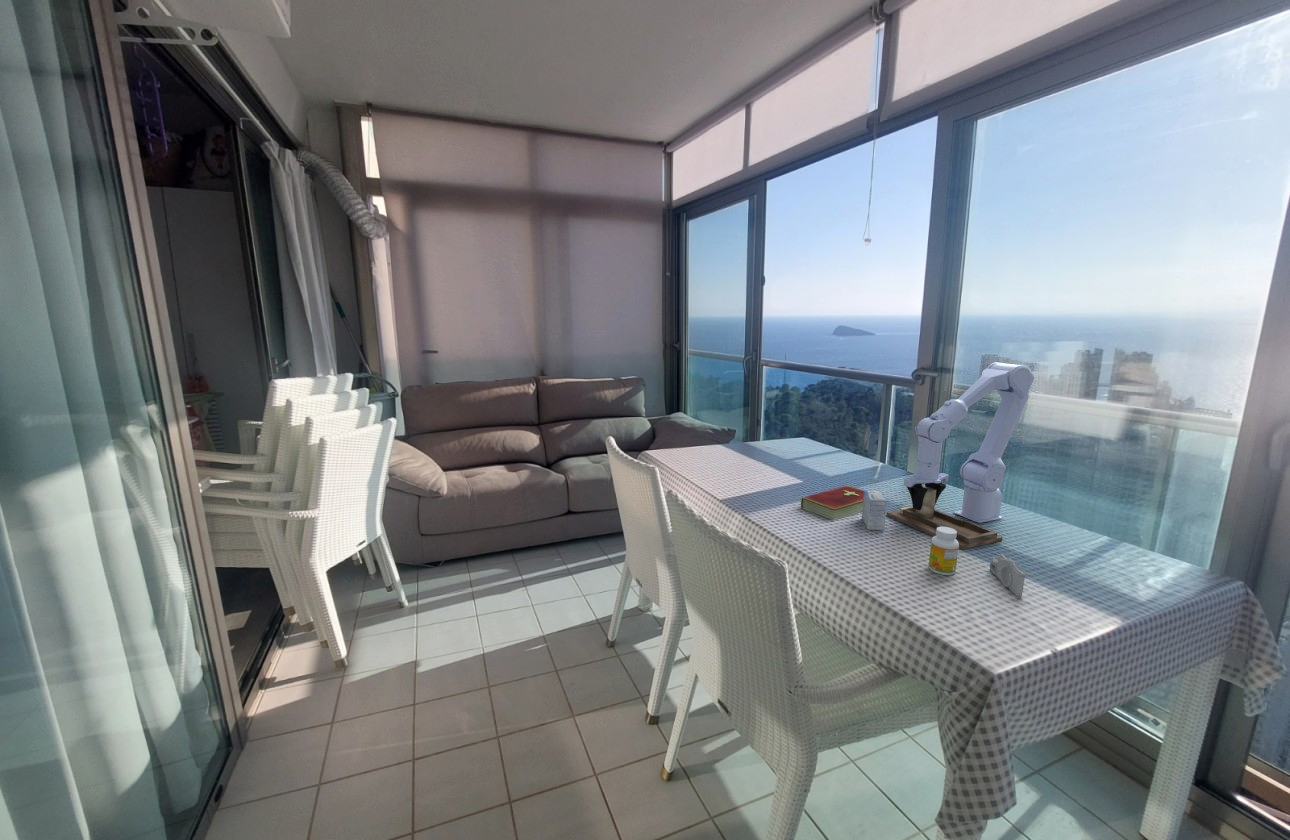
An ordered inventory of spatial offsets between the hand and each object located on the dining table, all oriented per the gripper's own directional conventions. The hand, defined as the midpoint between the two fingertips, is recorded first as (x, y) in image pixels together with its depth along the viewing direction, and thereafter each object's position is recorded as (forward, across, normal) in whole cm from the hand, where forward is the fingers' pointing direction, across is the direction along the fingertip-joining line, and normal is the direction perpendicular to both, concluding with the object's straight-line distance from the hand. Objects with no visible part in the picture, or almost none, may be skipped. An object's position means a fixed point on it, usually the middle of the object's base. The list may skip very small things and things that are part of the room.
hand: (923, 507), depth 146 cm
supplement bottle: (+4, -21, -24) cm, 32 cm away
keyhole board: (+3, 0, -6) cm, 7 cm away
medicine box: (+4, -16, +2) cm, 17 cm away
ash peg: (+2, 0, 0) cm, 2 cm away
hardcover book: (+4, -15, +16) cm, 22 cm away
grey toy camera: (+4, -13, -33) cm, 36 cm away
